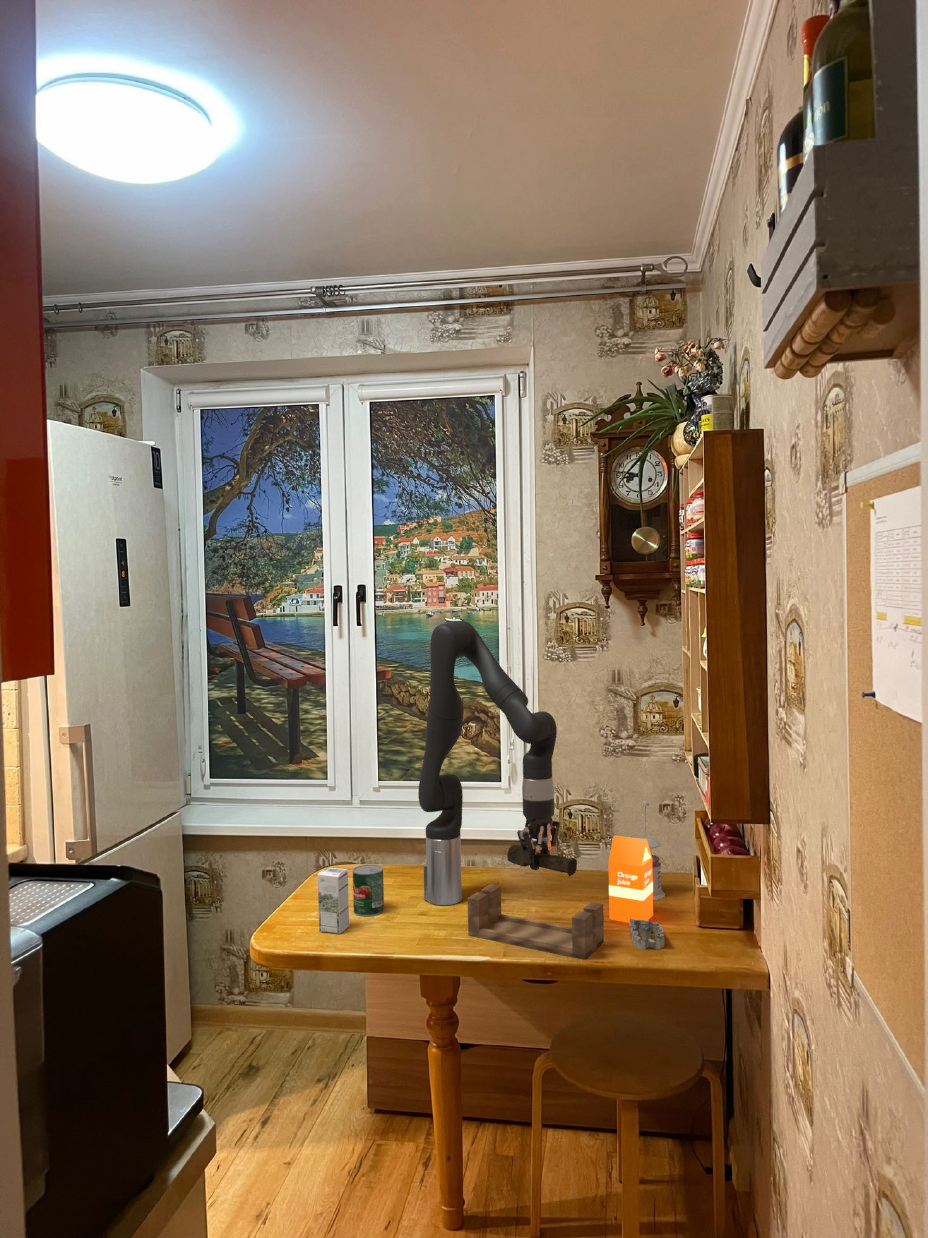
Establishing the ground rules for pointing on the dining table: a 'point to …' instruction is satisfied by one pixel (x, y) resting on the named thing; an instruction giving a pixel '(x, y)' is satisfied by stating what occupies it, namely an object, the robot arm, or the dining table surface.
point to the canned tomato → (368, 890)
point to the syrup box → (333, 900)
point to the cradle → (535, 927)
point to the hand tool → (542, 860)
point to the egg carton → (646, 934)
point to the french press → (654, 862)
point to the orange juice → (630, 880)
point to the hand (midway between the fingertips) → (540, 867)
